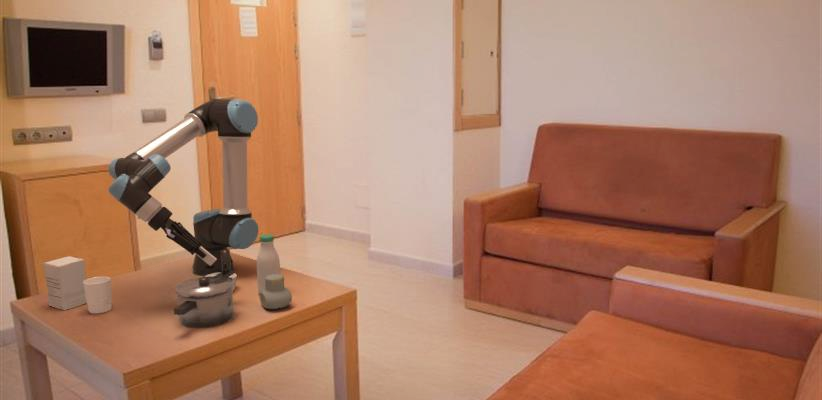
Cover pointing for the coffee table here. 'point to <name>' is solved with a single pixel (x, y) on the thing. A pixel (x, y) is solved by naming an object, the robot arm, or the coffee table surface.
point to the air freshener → (275, 293)
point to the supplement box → (65, 282)
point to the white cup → (98, 294)
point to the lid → (209, 281)
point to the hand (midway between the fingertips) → (213, 262)
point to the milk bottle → (266, 261)
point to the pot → (205, 310)
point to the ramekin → (229, 277)
